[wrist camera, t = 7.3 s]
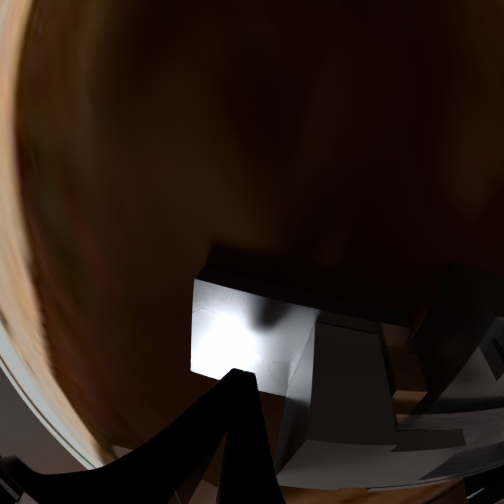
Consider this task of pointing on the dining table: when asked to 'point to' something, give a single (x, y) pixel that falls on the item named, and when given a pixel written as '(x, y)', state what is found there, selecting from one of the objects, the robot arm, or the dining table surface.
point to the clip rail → (270, 326)
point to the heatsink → (453, 365)
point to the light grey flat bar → (459, 425)
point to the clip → (350, 420)
